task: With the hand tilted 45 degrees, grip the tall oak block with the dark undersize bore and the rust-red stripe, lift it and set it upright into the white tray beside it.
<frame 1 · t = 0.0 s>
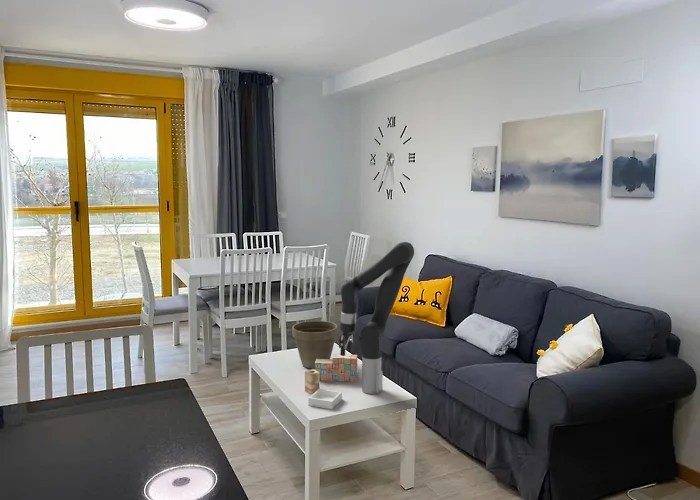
hand: (345, 353, 270), 17 cm above the table, tool pointing down, fingers open, 8 cm apart
stack of blocks: (336, 379, 283), on the table
white tray: (325, 402, 254), on the table
oak block: (312, 391, 266), on the table
plant pot: (315, 364, 304), on the table
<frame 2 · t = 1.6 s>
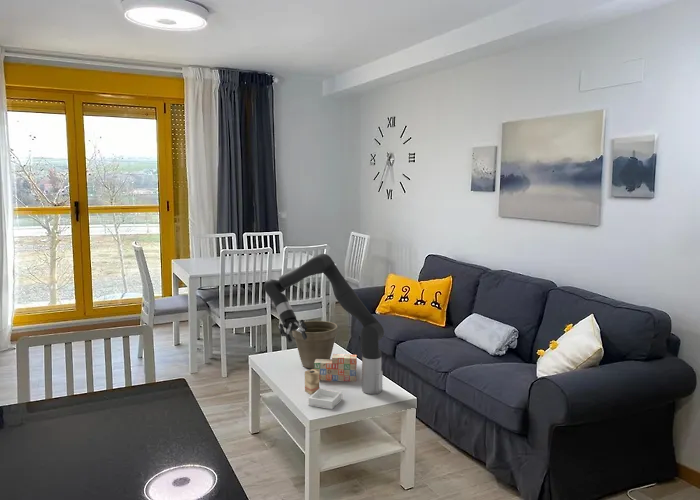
hand: (298, 340, 272), 22 cm above the table, tool tilted 45°, fingers open, 8 cm apart
nothing on the table moved.
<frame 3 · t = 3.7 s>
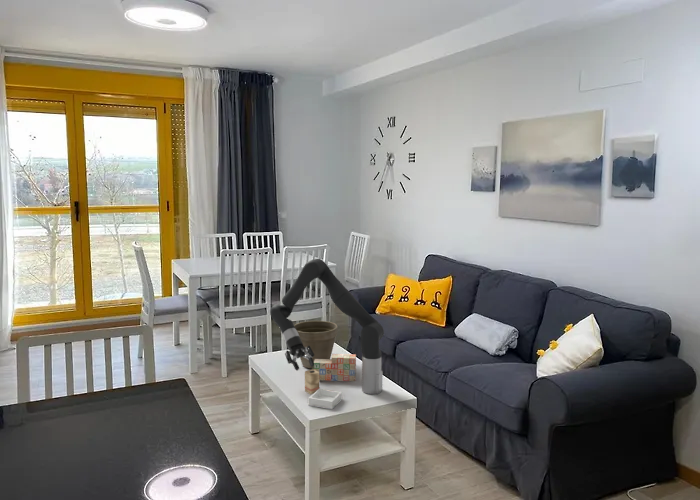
hand: (305, 367, 269), 10 cm above the table, tool tilted 45°, fingers open, 8 cm apart
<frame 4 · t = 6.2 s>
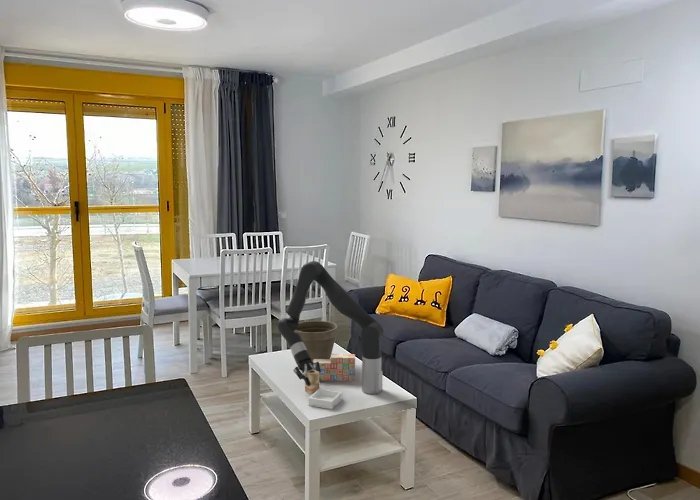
hand: (314, 384, 264), 4 cm above the table, tool tilted 45°, fingers closed on oak block, 5 cm apart
oak block: (312, 391, 266), on the table, touching gripper
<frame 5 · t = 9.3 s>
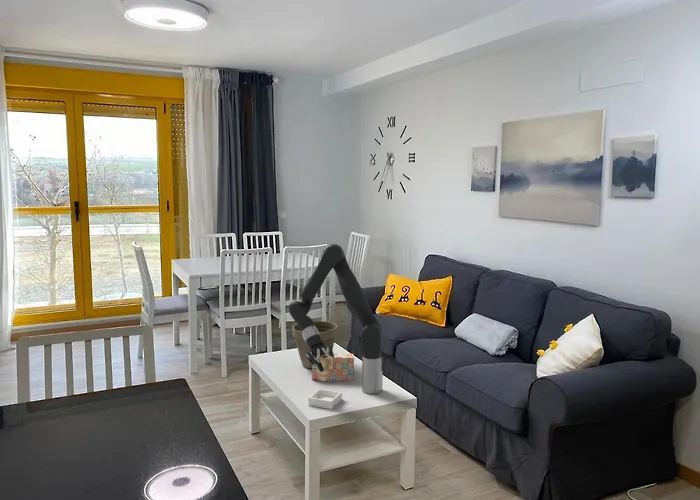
hand: (327, 369, 250), 16 cm above the table, tool tilted 45°, fingers closed on oak block, 5 cm apart
oak block: (325, 377, 252), point 12 cm above the table, touching gripper
when the fingers open (7 cm above the table, at t = 12.0 s): oak block drops 1 cm, resting on white tray.
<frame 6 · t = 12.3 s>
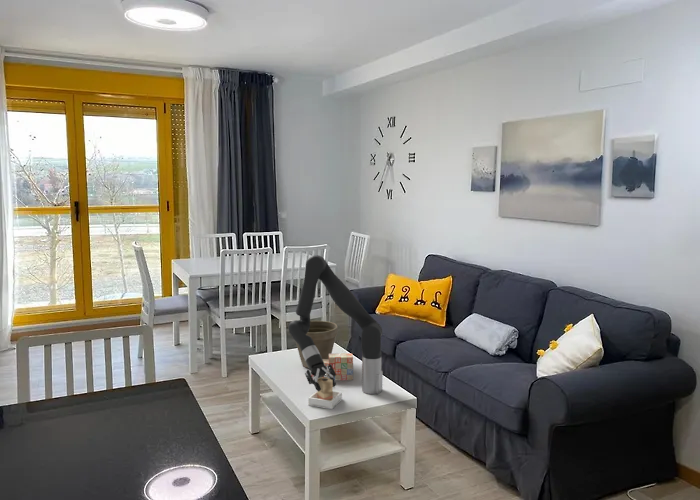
hand: (327, 388, 252), 7 cm above the table, tool tilted 45°, fingers open, 8 cm apart
oak block: (325, 400, 254), point 1 cm above the table, touching white tray
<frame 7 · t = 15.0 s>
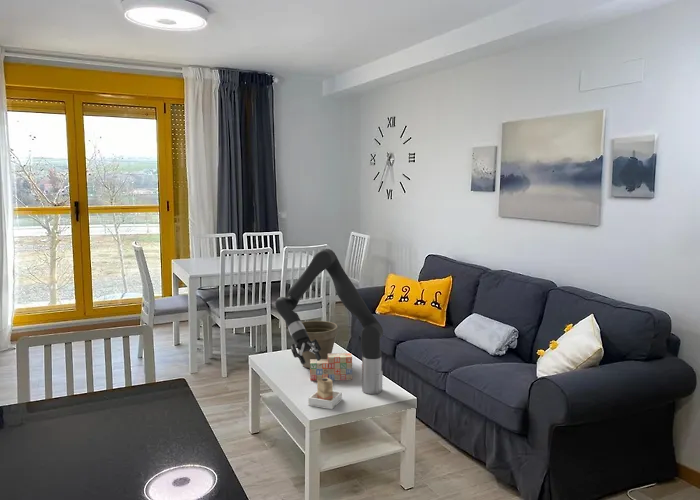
hand: (311, 361, 260), 16 cm above the table, tool tilted 45°, fingers open, 8 cm apart
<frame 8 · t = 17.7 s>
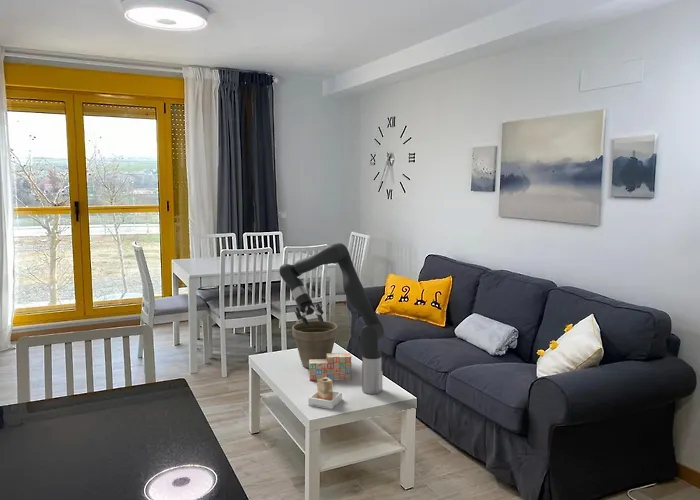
hand: (314, 324, 272), 31 cm above the table, tool tilted 45°, fingers open, 8 cm apart
at the end: oak block inside the target area on the white tray (0.1 cm from its centre), point 0.8 cm above the white tray's base; oak block tilted 0°; the gripper is holding nothing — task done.
